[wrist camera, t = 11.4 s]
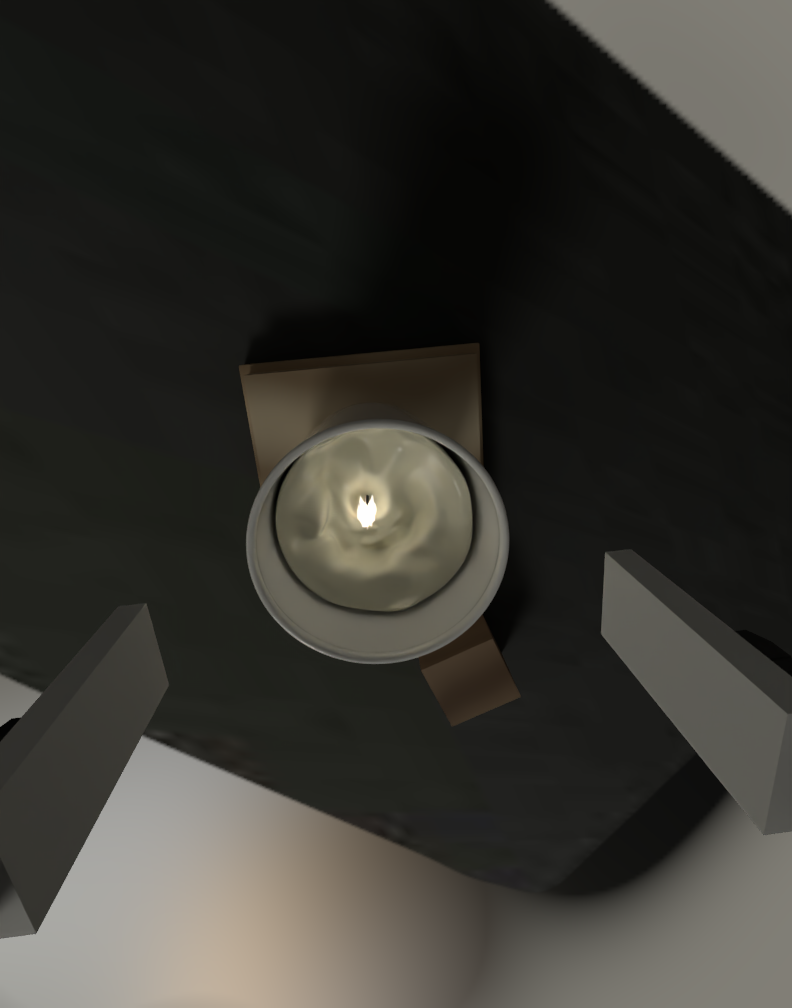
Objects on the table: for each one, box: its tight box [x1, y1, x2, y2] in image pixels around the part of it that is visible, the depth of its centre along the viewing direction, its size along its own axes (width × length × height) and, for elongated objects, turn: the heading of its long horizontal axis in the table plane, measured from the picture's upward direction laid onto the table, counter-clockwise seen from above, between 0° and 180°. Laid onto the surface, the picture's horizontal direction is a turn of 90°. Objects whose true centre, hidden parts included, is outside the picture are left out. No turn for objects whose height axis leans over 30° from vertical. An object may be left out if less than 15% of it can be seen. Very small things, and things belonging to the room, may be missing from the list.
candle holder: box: [246, 402, 509, 664], centre depth 25 cm, size 10×10×12 cm
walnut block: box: [419, 614, 521, 726], centre depth 36 cm, size 5×5×5 cm
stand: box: [239, 343, 484, 487], centre depth 32 cm, size 14×14×3 cm
